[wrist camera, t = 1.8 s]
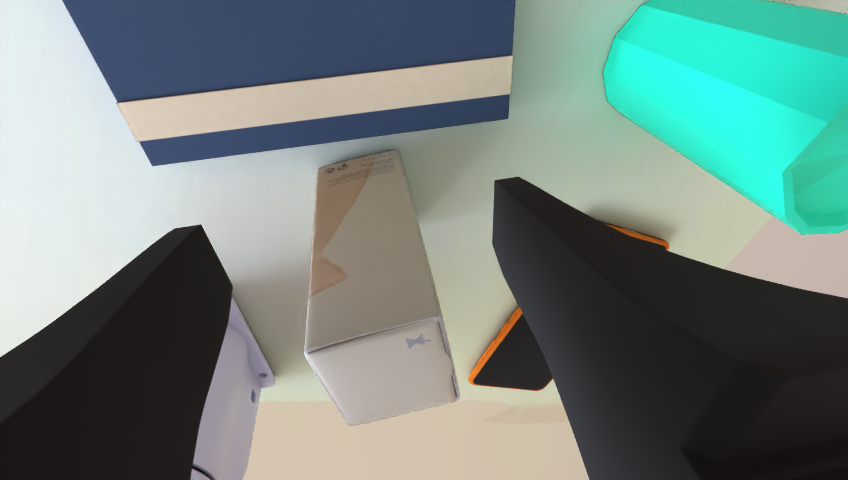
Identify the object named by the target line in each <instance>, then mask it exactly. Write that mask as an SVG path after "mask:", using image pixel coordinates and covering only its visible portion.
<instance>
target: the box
mask: <svg viewBox="0 0 848 480" xmlns="http://www.w3.org/2000/svg"><path fill="white" fill-rule="evenodd" d="M304 354H305V356H306V358H307V360H308V362H309V364H310V366H311V367H312V369H313V370H314V372H315V374H316V376H317V377H318V379H319V381H320V382H321V384H322V386H323V387H324V389H325V391H326V392H327V394H328V395H329V397H330V398H331V400H332V402H333V403H334V404H335V406H336V407H337V409H338V410H339V412H340V413H341V415H342V416H343V418H344V419H345V421H346V422H347V424H348V425H350V426H354V425H360V424H365V423H370V422H374V421H379V420H383V419H387V418H390V417H395V416H399V415H403V414H407V413H411V412H415V411H419V410H424V409H427V408H432V407H436V406H440V405H444V404H447V403H452V402H455V401H457V400H458V399H459V397H460V393H459V387H458V382H457V377H456V373H455V368H454V363H453V359H452V354H451V350H450V346H449V342H448V338H447V334H446V330H445V326H444V322H443V317H442V313H441V309H440V305H439V301H438V297H437V293H436V289H435V285H434V281H433V277H432V273H431V269H430V265H429V262H428V258H427V254H426V250H425V246H424V242H423V239H422V235H421V231H420V228H419V224H418V220H417V217H416V213H415V209H414V205H413V202H412V198H411V194H410V191H409V187H408V183H407V180H406V176H405V173H404V169H403V165H402V161H401V158H400V154H399V152H398V151H397V150H392V151H387V152H382V153H377V154H373V155H368V156H364V157H360V158H355V159H351V160H347V161H343V162H340V163H335V164H332V165H328V166H324V167H321V168H318V170H317V178H316V193H315V209H314V222H313V236H312V252H311V268H310V282H309V297H308V308H307V323H306V336H305V347H304Z"/></svg>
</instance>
